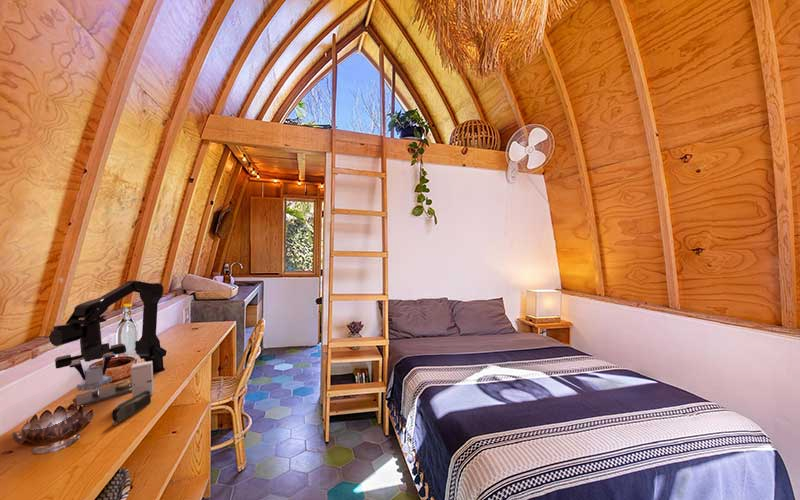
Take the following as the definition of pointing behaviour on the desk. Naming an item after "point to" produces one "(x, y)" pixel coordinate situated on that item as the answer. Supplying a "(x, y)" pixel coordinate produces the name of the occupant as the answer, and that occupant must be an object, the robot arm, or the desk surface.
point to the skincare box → (142, 378)
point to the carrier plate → (104, 393)
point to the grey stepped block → (94, 379)
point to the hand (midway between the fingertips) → (94, 377)
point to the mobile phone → (130, 407)
